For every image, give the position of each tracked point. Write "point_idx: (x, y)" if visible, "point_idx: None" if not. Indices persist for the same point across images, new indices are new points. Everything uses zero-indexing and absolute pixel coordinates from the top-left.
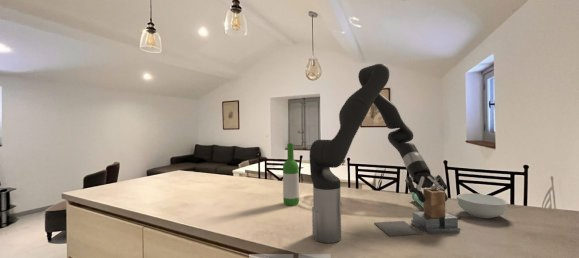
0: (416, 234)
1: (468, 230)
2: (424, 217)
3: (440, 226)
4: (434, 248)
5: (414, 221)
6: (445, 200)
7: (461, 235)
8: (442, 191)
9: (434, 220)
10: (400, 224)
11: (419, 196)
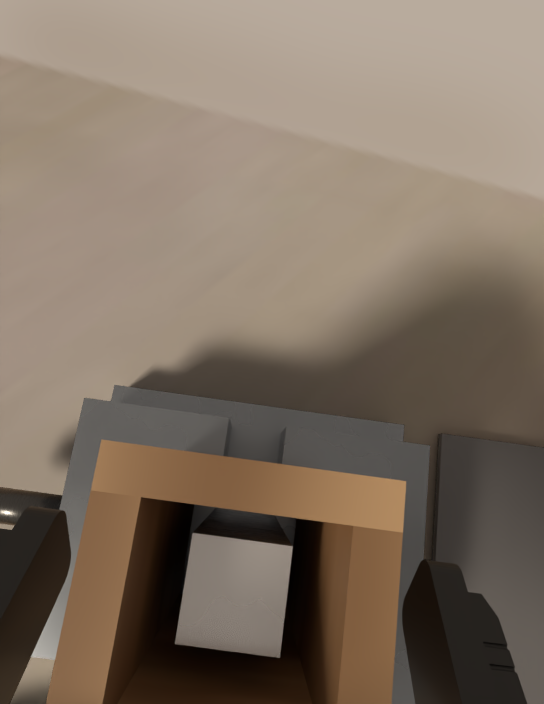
0: (488, 440)
1: (25, 401)
2: (405, 499)
3: (246, 457)
4: (504, 235)
5: None
6: (61, 527)
7: (169, 340)
8: (130, 479)
9: (334, 434)
10: None
11: (505, 664)
